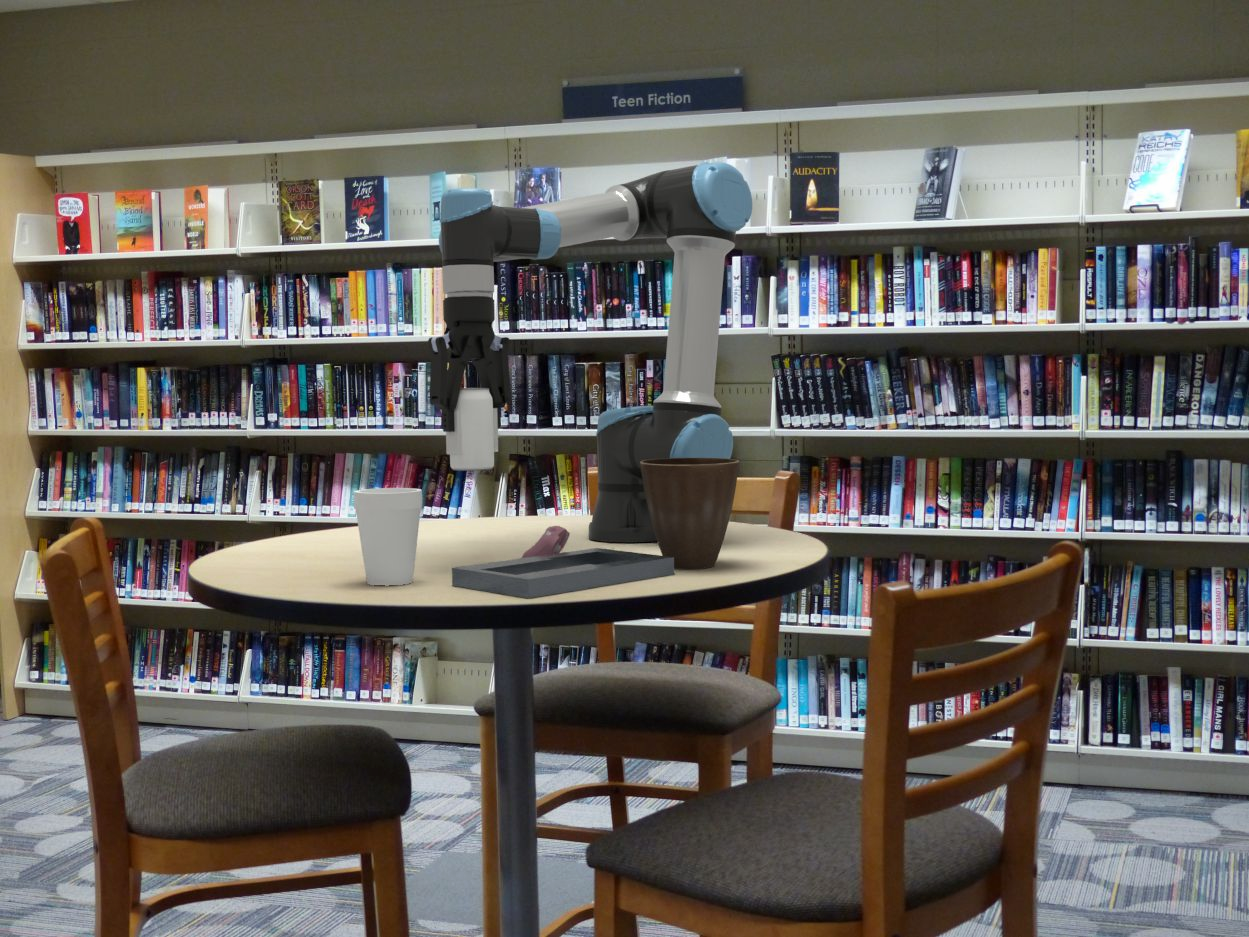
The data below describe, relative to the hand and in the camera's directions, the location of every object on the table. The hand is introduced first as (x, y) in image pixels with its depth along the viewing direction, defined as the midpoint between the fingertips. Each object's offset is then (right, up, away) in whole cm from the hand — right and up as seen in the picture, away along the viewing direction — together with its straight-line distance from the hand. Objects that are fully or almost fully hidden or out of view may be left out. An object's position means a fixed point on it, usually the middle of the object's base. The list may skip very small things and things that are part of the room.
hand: (472, 452), depth 196 cm
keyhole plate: (+14, -18, -9) cm, 25 cm away
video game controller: (+11, -17, +9) cm, 22 cm away
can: (0, -3, 0) cm, 3 cm away
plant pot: (+33, -17, +4) cm, 37 cm away
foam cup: (-11, -19, -10) cm, 23 cm away
